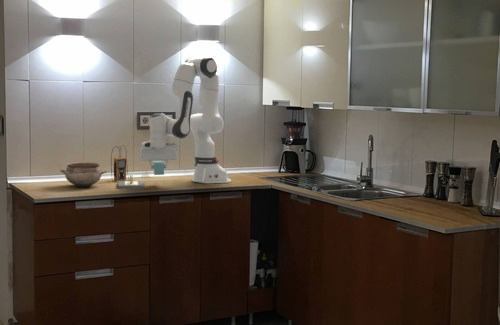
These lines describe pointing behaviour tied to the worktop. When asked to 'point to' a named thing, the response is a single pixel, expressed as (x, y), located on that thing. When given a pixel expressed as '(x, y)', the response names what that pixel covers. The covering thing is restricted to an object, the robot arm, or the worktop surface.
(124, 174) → the multimeter
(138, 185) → the header board
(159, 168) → the block
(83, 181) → the cooking pot
